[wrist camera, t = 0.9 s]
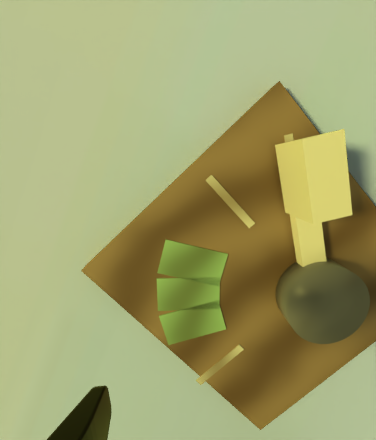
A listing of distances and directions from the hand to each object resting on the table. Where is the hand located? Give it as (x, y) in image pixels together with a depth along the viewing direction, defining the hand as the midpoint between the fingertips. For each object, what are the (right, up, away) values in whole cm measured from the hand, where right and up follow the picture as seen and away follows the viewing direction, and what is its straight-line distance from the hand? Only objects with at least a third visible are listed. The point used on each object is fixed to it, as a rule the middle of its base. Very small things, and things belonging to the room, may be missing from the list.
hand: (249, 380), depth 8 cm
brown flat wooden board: (+4, 0, +14) cm, 14 cm away
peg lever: (+7, +4, +12) cm, 14 cm away
